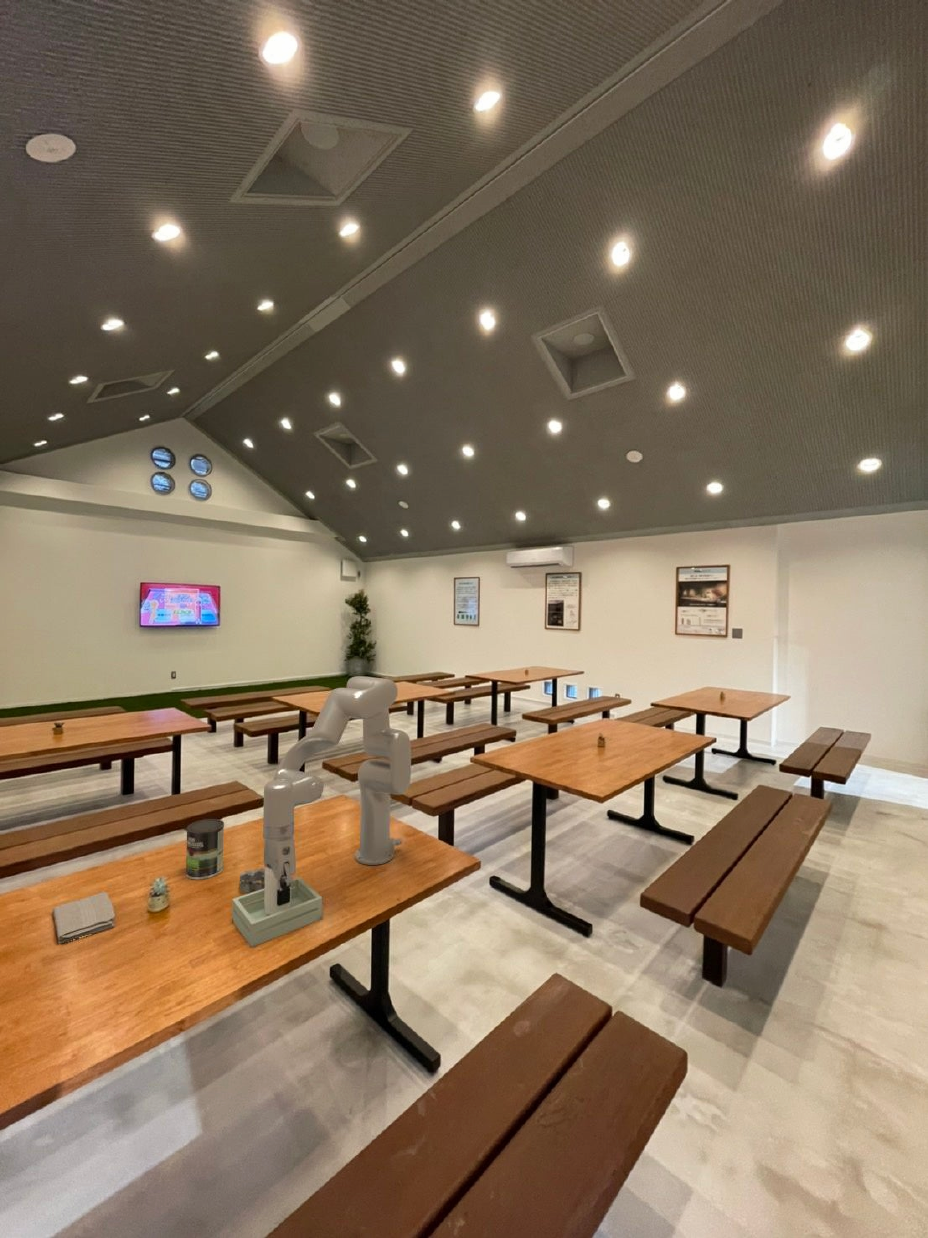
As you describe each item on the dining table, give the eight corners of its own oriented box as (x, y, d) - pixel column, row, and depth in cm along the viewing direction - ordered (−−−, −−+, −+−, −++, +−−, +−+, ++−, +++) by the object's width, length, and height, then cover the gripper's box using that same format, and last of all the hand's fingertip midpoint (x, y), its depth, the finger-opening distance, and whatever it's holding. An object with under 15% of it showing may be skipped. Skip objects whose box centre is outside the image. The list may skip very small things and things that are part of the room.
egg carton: (238, 896, 147) (238, 881, 147) (239, 883, 154) (239, 869, 154) (279, 889, 151) (279, 875, 151) (278, 876, 158) (278, 863, 158)
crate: (298, 896, 147) (299, 876, 147) (321, 918, 137) (322, 897, 136) (231, 920, 135) (232, 899, 135) (251, 947, 125) (251, 924, 124)
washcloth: (58, 948, 123) (58, 935, 123) (50, 915, 136) (50, 903, 136) (118, 929, 131) (118, 916, 131) (105, 899, 144) (105, 887, 144)
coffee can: (203, 883, 153) (203, 835, 153) (177, 875, 157) (178, 828, 156) (231, 867, 162) (231, 822, 162) (206, 860, 166) (207, 816, 166)
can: (268, 902, 139) (268, 857, 139) (293, 901, 140) (293, 857, 139) (261, 916, 133) (261, 869, 132) (287, 916, 133) (287, 869, 133)
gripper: (307, 836, 131) (306, 907, 132) (279, 815, 144) (278, 879, 145) (277, 845, 127) (277, 918, 127) (252, 822, 139) (251, 889, 140)
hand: (278, 897), depth 136 cm, fingers closed on can, 6 cm apart
